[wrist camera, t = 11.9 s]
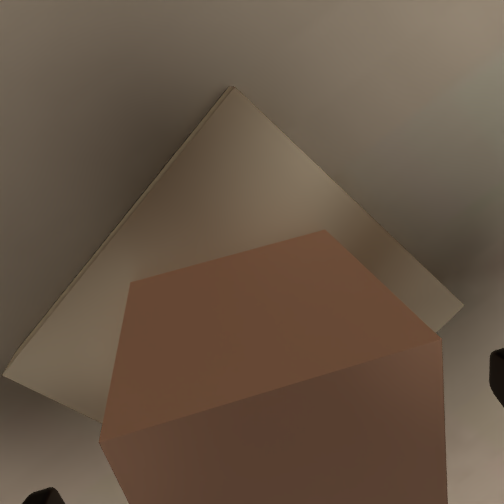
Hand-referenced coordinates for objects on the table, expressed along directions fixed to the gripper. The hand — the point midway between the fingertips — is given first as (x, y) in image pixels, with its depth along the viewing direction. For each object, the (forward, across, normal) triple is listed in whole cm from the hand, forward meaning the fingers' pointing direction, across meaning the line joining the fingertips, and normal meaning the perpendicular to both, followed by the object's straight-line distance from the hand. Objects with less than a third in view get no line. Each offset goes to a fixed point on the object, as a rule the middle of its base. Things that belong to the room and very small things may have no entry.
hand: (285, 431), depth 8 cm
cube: (+3, 0, 0) cm, 3 cm away
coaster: (+4, 0, 0) cm, 4 cm away
